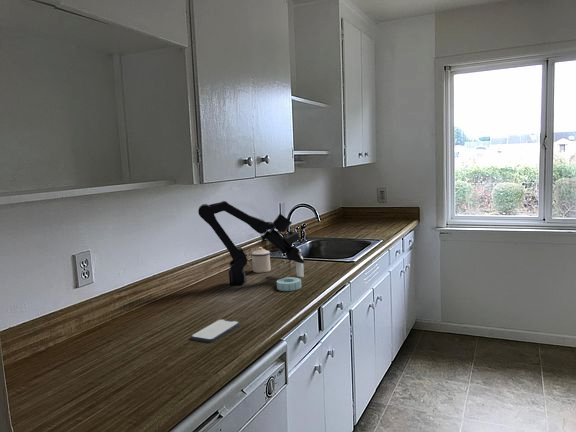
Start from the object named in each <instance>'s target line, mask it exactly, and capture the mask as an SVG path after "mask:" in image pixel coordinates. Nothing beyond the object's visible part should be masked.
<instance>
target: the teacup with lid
mask: <svg viewBox="0 0 576 432" xmlns="http://www.w3.org/2000/svg"><path fill="white" fill-rule="evenodd" d="M270 256H271V251H269V250H266V249H265V248H263V247H262V246H259V247H257V249H256V250H255V251H252V252H251V254H250V255H249V256H246V258H247V265H248V266H250V267H252V271H253V273H258V274H261V273H262V274H263V273H268V272H270V271H271V257H270ZM250 258H251V259H252V260H251V262H252V263H250V261H249V259H250Z"/></svg>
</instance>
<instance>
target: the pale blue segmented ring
mask: <svg viewBox="0 0 576 432" xmlns="http://www.w3.org/2000/svg"><path fill="white" fill-rule="evenodd" d="M301 288H302V279H301V278H300V277H293V276H292V277H291V276H290V277H282V278H279V279H277V280H276V290H279V291H282V292H291V291H296V290H300V289H301Z"/></svg>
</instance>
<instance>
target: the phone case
mask: <svg viewBox="0 0 576 432" xmlns="http://www.w3.org/2000/svg"><path fill="white" fill-rule="evenodd" d="M240 325H241V324H240V322H239V321H238V320H229V319H223V318H221V319H217V320H216V321H214V322H213V323H211V324H209V325H207V326H205V327H204V328H202V329H200V330H199V331H197V332H195V333H193V334H191V336H190V339H191V340H192V341H198V342H204V343H213V342H216V341H217V340H219V339H221V338H222V337H224V336H225V335H227V334H230V333H231V332H232V331H234V330H236V329H237V328H239V327H240Z"/></svg>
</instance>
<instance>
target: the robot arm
mask: <svg viewBox="0 0 576 432" xmlns="http://www.w3.org/2000/svg"><path fill="white" fill-rule="evenodd" d="M221 212H226V213H228V214H229V215H231V216H233V217H235V218H236V219H238V220H240V221H242V222H243V223H245V224H247V225H248V226H249V227H250V228H251V229H253V230H254V231H255V232H256V233H258V234H260V239H261V242H262V243H264V242H265V241H267V242H268V243H269V244H271V245H272V246H273V247H275V248H276V249H277V250H278V251H279V252H280V253H281V254H283V255H284V256H285V258H286V259H287V260H288V261H290V262H291V261H293V262H295V263H296V262H299V263H302V264H303V265H304V263H305V261H304V259H303V260H302V258H301V257H300V256H299V254H298V252H299V249H300V248H298V247H297V246H295V245H294V243H295V242H297V241H299V240H301V236H300V234H299V233H298V232H297V231H292V230H290V231H288V232H287V236H286V237H285V236H284V235H281V234H280V233H285V232H286V231H287V230H288V228H290V226H291V225H292V224H293V222H292V221H291V220H290V219H288V218H287V217H285V215H283V214H282V213H279V214H278V215H277V216H276V218H275V219H274V221H273V222H271V221H265V220H264V219H261V218H259V217H255V216H253V215H251V214H248V213H247V212H244V211H243V210H241V209H239V208H237V207H236V206H235V205H232V204H230V203H229V202H227V201H226V200H222V201H220V202H216V203H215V202H214V203H211V204H207V203H203V204H201V205H200V206H199V207H198V215H199V218H201V219H202V220H203V221H204V222H206V224H207V225H209V226H210V227H211V229H212V230H213V232H214V233H215V234H216V236H217V237H218V238H219V240H221V242H222V244H223V245H224V246H225V248H226V249H227V250H228V252H229V253H228V254H229V255H230V257H231V259H232V260H230V262H229V263H228V266H229V270H228V281H229V283H228V284H227V285H229V286H242V285H244V284H245V283H246V282H247V277H246V275H247V274H246V271H245V268H244V267H245V266H246V265H248V263H247V257H248V254H246V252H245V251H244V250H243V247H242V246H241V245H240V246H239V247H238V246H237V245H235V243H234V242H233V241H232V239H231V238H230V237H229V234H228V233H227V232H226V231H225V229H224V228H223V227H222V225H221V224H220V223H219V221H218V219H217V218H216V214H219V213H221ZM262 234H263V235H262Z"/></svg>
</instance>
